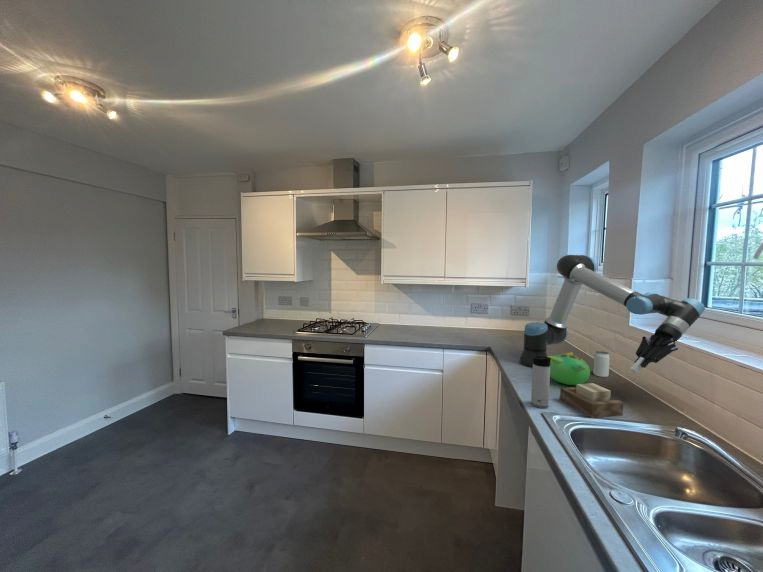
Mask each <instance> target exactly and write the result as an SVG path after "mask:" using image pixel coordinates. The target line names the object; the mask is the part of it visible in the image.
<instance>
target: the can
mask: <svg viewBox="0 0 763 572" xmlns="http://www.w3.org/2000/svg"><path fill="white" fill-rule="evenodd" d="M609 372H610V354H609V352H606V351H604V350H603V351H601V350H596V351H595V353H594V355H593V374H594V376H596V377H601V378H608V377H609V375H610V373H609Z"/></svg>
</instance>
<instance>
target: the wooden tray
mask: <svg viewBox="0 0 763 572" xmlns="http://www.w3.org/2000/svg"><path fill="white" fill-rule="evenodd" d="M559 400H560V401H561V402H563V403H565V404H567V405H568V406H570V407H572V408H573V409H575V410H577V411H579V412H580V413H583V414H585V415H586V416H587V417H590V418H591V419H593V418H594V419H596V418H608V417H618V416H623V414H624V402H623V401H621V400H619V399H616V400H610V401H601V402H591V401H590V400H588V399H586V398H584V397H582V396H580V395H578V394H576V386H572V387H571V386H570V387H560V390H559Z"/></svg>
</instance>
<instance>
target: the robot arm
mask: <svg viewBox="0 0 763 572" xmlns="http://www.w3.org/2000/svg"><path fill="white" fill-rule="evenodd" d="M597 268H598V265H597V262H596V260H595V259H594V258H593V257H591V256H590V255H584V254H566V255H564V256H562V257H560V259H559V260H558V261H557V263H556V270H557V272H558V274H560V275H561V276H562V278H563V279H564V281H563V283H562V285H561V287H560V290H559V293H558V295H557V297H556V300H555V303H554V305H553V308H552V310H551V312H550V315H549V317H546V318H545V320H544V322H538V321H537V322H529V323H526V324H525V325H524V329H523V337H524V338H523V351H522V353H521V355H520V358H519V364H521V365H523V366H526V367H529V368H533V357H537V356H543V357H547V356H548V353H547V349H548V348H547V346H549V345H558V344H561V343H563V342H564V341H566V340H567V338H568V336H569V334H568V333H569V332H568V324H567V323H566V322H567V321H568V318H569V315H570V313H571V310H572V309H573V306H574V304H575V302H576V299H577V297H578V295H579V292H580V289H581V288H582V286H583V285H584V286H586V287H588V288H590V289H591V290H593V291H595V292H596V293H597V292H598V293H599V294H601V295H603V296H605V297H606V298H608V299H610V300H613V301H615V302H616V303H618V304H620V305H622V306H624V307H625V308H626V309H627V310H628V312H630V314H634V315H647V314H648V315H649V314H659V315H663V316H665V317H667V318H665V319H664V320H663V321H662V323H661V324H660V325H659V326H658V327H657V328H656V329H655V331H654V333H653V334H652V335H650V336H648V337H646V336H642V338H641V342H640V344H639V345H638V348H637V350H636V351H635V355H636V356H637V358H636V359H635V360H634V362H633V365H631V366H630V370H631V372H632V373H633V374H636V375H637V374H639V373H640V372H641V370H642V369H643V368H646V367H647V366H648V365H649V364H651V363H654V364H657V363H659V362H660V361H661V360H663V359H664V358H665V357H667V356H668V355H669V354H671V353H672V352H676V351H678V350H679V347H678V346H677V345H676V342H675V341H677V340H678V341H679V340H680V339H681V338H682V336H683V335H684V334H685V333H686V332H687V331H688V329H689V328H691V326H692V325H693V324H694V323H695V322H696V321H697V320H698V319H699V318H700V317H701V315H702V314H703V313H704V311H705V309H706V306H705V305H704V303H702V302H701V301H700V300H698V299H694V298H693V297H692V298H689V297H687V298H684V299H683V300H676V299H673V298H669V297H667V296H664V295H660V294H658V293H654V292H650V291H649V292H646V293H644V294H642V293H640V292H638V291H637V290H633V289H631V288H630V287H628V286H626V285H624V284H621V283H619V282H617V281H615V280H613V279H610V278H609V277H607V276H605V275H602V274H601V273H598V272H597ZM678 341H677V342H678Z"/></svg>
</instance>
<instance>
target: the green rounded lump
mask: <svg viewBox="0 0 763 572" xmlns="http://www.w3.org/2000/svg"><path fill="white" fill-rule="evenodd" d="M547 357H549V358H551V360H550V378H552V379H553V380H554V381H556V382H558V383H559V384H563V385H567V386H576V384H585V383H586V382H587V381H588V380H589V378H590V376H591V367H590V366H589V364H588V363H587V362H586V361H585V360H583V359H582V358H581V357H579V356H576V355H574V352H571V351H570V352H566V353H559V354H554V355H547Z"/></svg>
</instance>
